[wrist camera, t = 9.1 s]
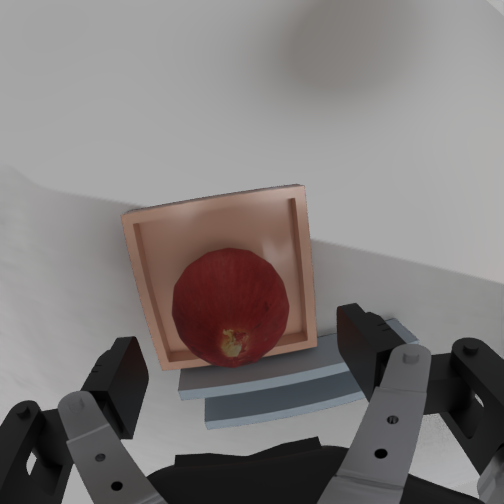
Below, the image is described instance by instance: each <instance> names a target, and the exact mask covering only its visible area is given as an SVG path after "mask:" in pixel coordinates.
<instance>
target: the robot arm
mask: <svg viewBox="0 0 504 504" xmlns="http://www.w3.org/2000/svg"><path fill="white" fill-rule="evenodd" d="M337 345H338V350H339V353H340V355H341V357H342V358H343V360H344V362H345V363H346V365H347V367H348V368H349V370H350V372H351V373H352V375H353V377H354V378H355V380H356V382H357V383H358V385H359V387H360V388H361V390H362V392H363V393H364V395H365V397H366V398H367V400H368V402H369V405H368V408H367V410H366V412H365V415H364V417H363V419H362V422H361V424H360V426H359V429H358V431H357V433H356V435H355V437H354V440H353V442H352V444H351V446H350V448H345V447H339V446H321V444H320V441H319V438H318V436H317V437H313V438H308V439H304V440H299V441H294V442H288V443H283V444H280V445H278V446H275V447H272V448H270V449H267V450H264V451H261V452H258V453H255V454H252V455H249V456H234V455H223V454H213V453H204V454H187V455H175V464H174V465H172V466H168V467H165V468H162V469H160V470H158V471H156V472H154V473H152V474H150V475H148V476H147V477H145V475H144V474H143V473H142V471H141V470H140V468H139V467H138V466H137V464H136V463H135V462H134V460H133V459H132V457H131V456H130V454H129V453H128V451H127V450H126V449H125V447H124V446H123V444H122V443H121V441H120V440H121V439H133V435H134V431H135V428H136V424H137V420H138V417H139V413H140V410H141V406H142V403H143V399H144V396H145V392H146V389H147V385H148V381H149V375H148V369H147V366H146V363H145V360H144V358H143V355H142V352H141V349H140V346H139V343H138V340H137V338H136V337H135V336H132V337H120V338H117V339H116V340H115V342H114V344H113V346H112V347H111V349H110V350H107V351H106V352H105V353H103V354H102V355H101V356H100V357H99V358H98V360H97V362H96V363H95V367H93V369H92V370H91V373H90V374H89V376H88V377H87V379H86V381H85V383H84V385H83V387H82V388H81V390H80V391H76V392H72V393H70V394H68V395H66V396H65V397H63V398H62V399H61V400H60V402H59V404H58V408H57V409H52V410H47V411H41V409H40V407H39V406H38V404H37V403H36V402H35V401H31V400H27V401H22V402H20V403H18V404H16V405H15V406H14V407H13V408H12V409H11V410H10V411H9V413H8V415H7V416H6V418H5V419H4V421H3V423H2V424H1V426H0V504H61V503H62V499H63V495H64V492H65V489H66V485H67V482H68V479H69V475H70V472H71V469H72V466H73V464H75V465H76V467H77V470H78V472H79V474H80V476H81V478H82V481H83V483H84V485H85V487H86V489H87V491H88V493H89V495H90V497H91V499H92V501H93V503H94V504H504V360H503V359H502V358H501V357H500V356H499V355H498V354H497V353H496V352H494V351H493V350H492V349H491V348H490V347H489V346H488V345H486V344H485V343H484V342H483V341H481V340H479V339H475V338H462V339H459V340H457V341H456V342H454V344H453V346H452V351H451V353H446V354H437V355H431V353H430V351H429V350H428V349H427V348H426V347H424V346H421V345H418V344H407V343H406V342H405V341H404V340H403V339H402V338H401V337H400V336H399V335H398V334H397V333H396V332H395V331H394V330H393V329H391V327H390V326H389V325H388V324H386V322H385V321H384V320H383V319H382V318H381V317H380V316H378V315H376V314H374V313H372V312H367V313H365V312H364V311H363V310H362V308H361V307H360V306H359V305H358V304H357V303H352V304H348V305H343V306H338V307H337ZM475 394H477V395H478V397H479V398H480V399H481V400H482V402H483V405H484V407H483V406H482V405H481V404H480V403H479V402H478V400H477V399H476V398H475ZM435 413H439V414H440V416H441V417H442V419H443V420H444V422H445V423H446V424H447V426H448V427H449V429H450V430H451V432H452V433H453V435H454V436H455V438H456V439H457V441H458V442H459V444H460V445H461V447H462V448H463V450H464V452H465V453H466V455H467V456H468V458H469V459H470V461H471V462H472V464H473V466H474V467H475V469H476V470H477V472H478V473H479V475H480V478H479V480H478V483H477V491H478V494H479V499H477V498H475V497H472V496H470V495H466V494H464V493H460V492H457V491H454V490H451V489H448V488H445V487H443V486H440V485H437V484H434V483H432V482H429V481H426V480H424V479H421V478H419V477H416V476H413V475H411V474H409V473H408V472H409V469H410V465H411V462H412V458H413V455H414V451H415V447H416V443H417V439H418V435H419V431H420V426H421V422H422V417H423V415H428V414H435ZM31 451H32V453H33V454H34V455H35V456H36V458H37V459H36V462H35V464H34V467H33V469H32V471H31V474H30V475H29V474H28V472H27V468H26V464H27V460H28V458H29V456H30V453H31Z"/></svg>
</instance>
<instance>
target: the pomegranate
mask: <svg viewBox="0 0 504 504" xmlns="http://www.w3.org/2000/svg"><path fill="white" fill-rule="evenodd" d="M289 308H290V305H289V301H288V297H287V293H286V289H285V286H284V282H283V280H282V279H281V277H280V276H279V274H278V273H277V271H276V270H275V269H274V267H273V266H272V264H271V263H269V262H268V261H266V260H264V259H263V258H261V257H260V256H258V255H256V254H255V253H253V252H252V251H250V250H244V249H237V248H229V247H228V248H224V249H219V250H215V251H211V252H207V253H206V254H204V255H203V256H201V257H200V258H198V259H197V260H195V261H194V262H192V263H191V264H190V265H188V266H187V267H186V268H185V270H184V272H183V273H182V275H181V276H180V278H179V279H178V281H177V282H176V284H175V285H174V291H173V301H172V317H173V320H174V323H175V326H176V329H177V332H178V335H179V337H180V339H181V341H182V342H183V343H184V344H185V345H186V346H187V348H188V349H189V350H190V351H191V352H192V353H193V354H194V355H195V356H197V357H199V358H200V359H202V360H204V361H206V362H207V363H209V364H211V365H214V366H221V367H229V368H236V367H241V366H245V365H249V364H253V363H256V362H257V361H258V360H259V359H261V358H262V357H263V356H264V355H265V354H266V353H268V352H269V351H270V350H272V349H273V348H274V347H275V345H276V344H277V342H278V341H279V339H280V338H281V336H282V335H283V333H284V332H285V330H286V325H287V320H288V315H289Z"/></svg>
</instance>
